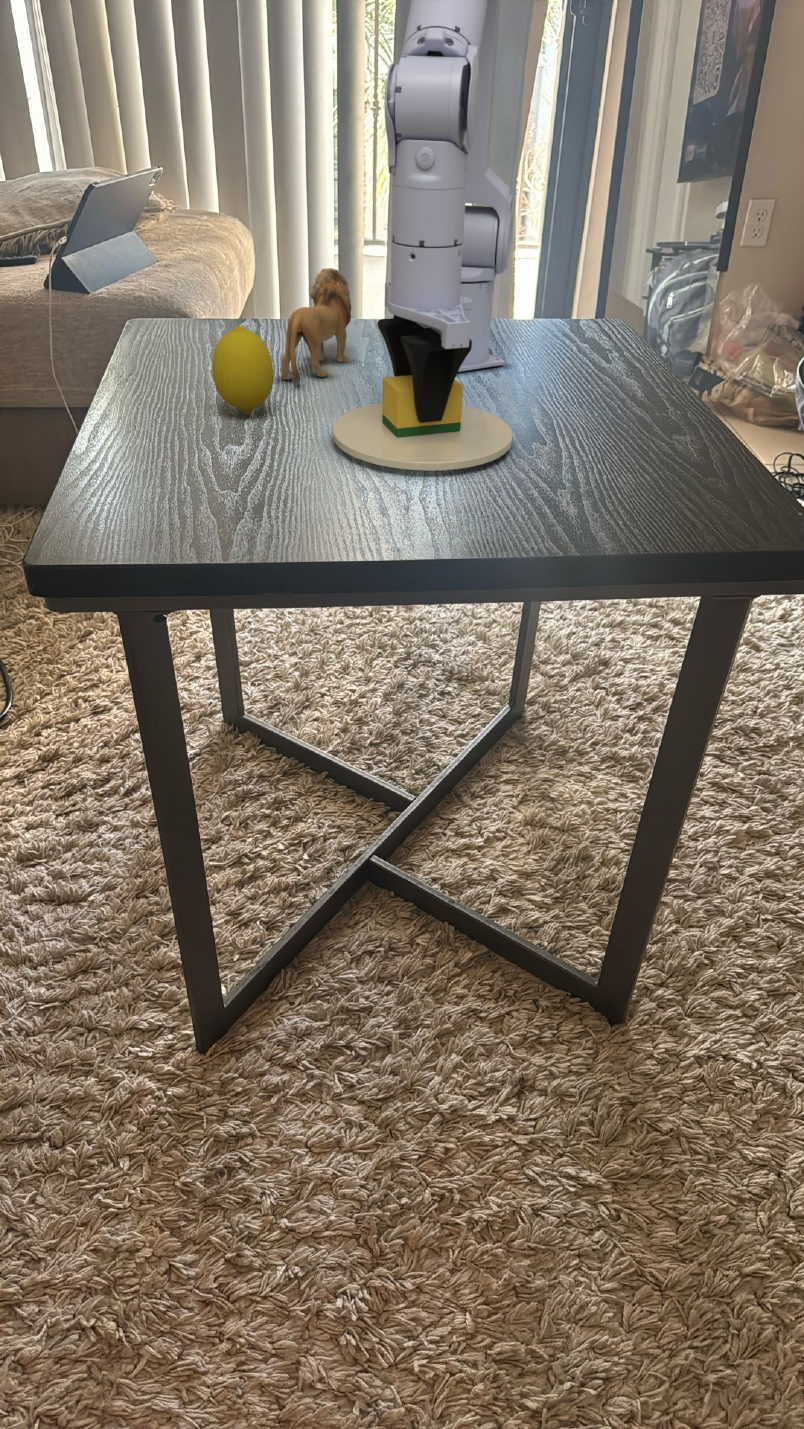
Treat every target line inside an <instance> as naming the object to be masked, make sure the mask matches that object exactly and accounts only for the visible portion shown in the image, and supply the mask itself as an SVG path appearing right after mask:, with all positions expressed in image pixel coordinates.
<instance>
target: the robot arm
mask: <svg viewBox="0 0 804 1429" xmlns="http://www.w3.org/2000/svg"><path fill="white" fill-rule="evenodd" d="M500 11H501V0H410V5H409V11H408V15H407V23H406V28H405V33H404V40H403V44H402V45H403V46H402V51H401V56H400V58H399V62H398V63H397V64H395V63H390V64H389V66H388V70H387V73H386V74H387V75H386V79H385V88H384V122H385V123H384V124H385V131H386V138H387V166H388V174H391V175H392V184H391V191H392V192H391V232H390V233H391V234H390V235H391V238H390V239H391V241H390V242H391V243H390V244H391V246H390V282H385V283H384V307H386V309H387V311H388V312H389V313H390V314H391V315H393V317H392V318H382V319H381V318H380V319H379V320H378V321H377V328H378V330H379V332H380V334H381V336H382V338H383V341H384V343H385V346H386V348H387V349H386V350H387V351H388V355H389V358H390V362H391V363H390V364H391V367H392V372H393V377H395V376H408V375H412V379H413V389H414V402H415V410H416V415H417V419H418V421H419V422H420V423H425V422H435V421H442V418H443V415H444V412H445V409H446V405H447V402H448V398H449V395H450V392H451V388H452V385H453V382H454V380H456V377H457V375H458V373H460V372H466V371H473V370H479V369H487V368H492V367H498V366H503V365H505V360H504V359H502V358H500V357H498V356H495V355H493V354H491V353H490V343H491V342H490V341H491V328H492V316H493V307H494V306H493V305H494V304H493V302H494V291H495V280H496V277H497V275H503V273H504V272H505V271H506V270H507V269H508V266H509V262H510V254H511V246H512V236H513V223H514V218H513V217H514V215H513V214H514V213H513V204H514V203H513V202H514V196H513V194H512V190H511V188H510V187H509V185H508V184H507V183H506V182H505V181H503V179H502V178H500V176H499V175H498V174H496V172H494V170H492V169H491V167H490V154H491V138H492V124H493V110H494V97H495V96H494V95H495V84H496V83H495V80H496V69H497V67H496V66H497V56H498V55H497V54H498V53H497V52H498V39H499V38H498V37H499V25H500V13H501V12H500ZM466 204H468V205H466ZM469 204H472V205H469ZM473 204H474V205H473ZM477 204H478V205H477ZM485 205H486V206H485Z"/></svg>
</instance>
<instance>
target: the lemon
mask: <svg viewBox="0 0 804 1429" xmlns="http://www.w3.org/2000/svg"><path fill="white" fill-rule="evenodd" d="M212 379H213V383H214V386H215V388H216V391H217V393H218V394H219V397H221V399H222V400H223V401H224V402H225V403H226V404H227V405H229V406H230V407H232V408H235V409H237V410H238V411H239V412H240V413H241V414H242V415H244V416H247V415H250V414H251V413H252V412H253V411H254V409H256V408H258V407H260V406H261V405H263V404H264V403H265V402H266V401H267V400H268V398H269V396H270V394H271V391H272V388H273V384H274V366H273V361H272V357H271V354H270V351H269V348H268V346H267V344H266V343H265V341H264V340H263V339H262V338H261V337H260V336H259V335H257V334H256V333H255V332H253V331H251V330H248V329H246V328H245V326H244V325H236V326H235V327H234V328H233V330H230V331H227V332H226V333H224V334H223V335H222V337H220V338H219V340H218V341H217V343H216V345H215V348H214V351H213V356H212Z"/></svg>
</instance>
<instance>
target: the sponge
mask: <svg viewBox="0 0 804 1429" xmlns="http://www.w3.org/2000/svg"><path fill="white" fill-rule="evenodd" d="M463 397H464V384H462V383H461V382H460V381H458V380H457V379H455V380H454V382H453V385H452V388H451V392H450V395H449V398H448V402H447V405H446V409H445V412H444V415H443V418H442V421H435V422H425V423H420V422H419V421H418V419H417V415H416V410H415V402H414V389H413V379H412V375H408V376H395V377H394V376H383V377H382V402H381V403H382V414H383V415H382V422H383V424H384V425H385V426H386V427H387V428H388V429H389V430H390V431H391V432H392V433H393V434H394V435H395V436H396V437H407V436H417V435H426V434H436V433H446V432H455V431H460V428H461V415H462V405H463V400H464V398H463Z"/></svg>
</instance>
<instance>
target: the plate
mask: <svg viewBox="0 0 804 1429" xmlns="http://www.w3.org/2000/svg"><path fill="white" fill-rule="evenodd" d="M382 415H383V414H382V402H376V403H371V404H367V405H364V406H363V405H362V406H360V407H357V408H354V409H351V410H349V411H347V412H345V413H343V414H341V415H340V416H339V417H338V418H337V419H336V420H335V422H334V423H333V426H332V439H333V441H334V443H335V444H336V446H337V447H338V448H339V449H340V450H342V452H344V453H346V454H348V455H349V456H352V457H353V458H356V459H357V460H361V461H362V462H366V463H370V464H374V465H377V466H382V467H387V468H391V469H392V468H393V469H399V470H409V471H425V472H426V471H451V470H452V471H453V470H461V469H467V468H468V469H469V468H471V467H472V468H473V467H477V466H482V465H484V464H487V463H490V462H493V461H495V460H497V459H500V458H501V457H502V456H505V454H506V453H508V452H509V450H510V448H511V447H512V443H513V437H514V435H513V430H512V428H511V426H510V425H509V424H508V423H507V422H506V421H505V420H503V419H502V418H500V417H498V416H497V415H495V414H493V413H491V412H488V411H485V410H483V409H480V408H476V407H474V406H469V405H464V404H462V415H461V428H460V431H455V432H446V433H436V434H426V435H417V436H407V437H396V436H395V435H394V434H393V433H392V432H391V431H390V430H389V429H388V428H387V427H386V426H385V425H384V424H383V422H382Z"/></svg>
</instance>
